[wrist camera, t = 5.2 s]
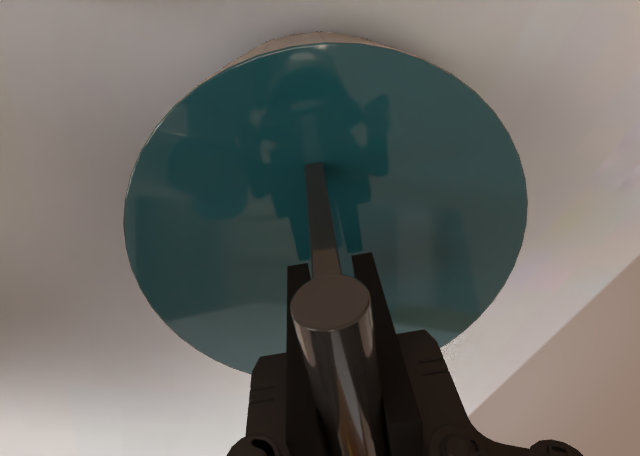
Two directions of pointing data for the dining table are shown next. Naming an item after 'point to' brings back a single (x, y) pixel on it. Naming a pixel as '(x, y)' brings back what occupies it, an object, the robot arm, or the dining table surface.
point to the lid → (325, 215)
